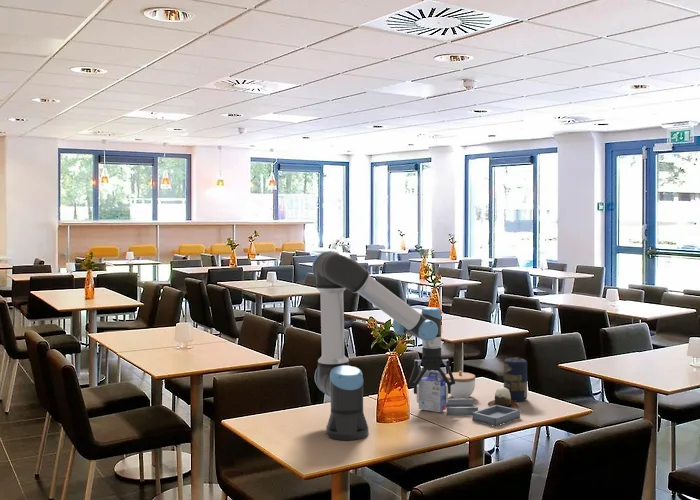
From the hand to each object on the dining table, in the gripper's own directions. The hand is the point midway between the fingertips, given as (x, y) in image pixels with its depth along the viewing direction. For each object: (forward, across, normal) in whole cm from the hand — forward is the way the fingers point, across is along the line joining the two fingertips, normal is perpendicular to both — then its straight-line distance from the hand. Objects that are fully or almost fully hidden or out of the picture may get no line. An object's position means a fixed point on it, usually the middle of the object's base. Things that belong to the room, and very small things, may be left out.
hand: (432, 401), depth 276 cm
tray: (+4, +23, -12) cm, 26 cm away
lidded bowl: (+4, +14, +21) cm, 26 cm away
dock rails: (+4, +11, 0) cm, 12 cm away
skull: (+4, +29, +7) cm, 30 cm away
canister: (+4, +36, +15) cm, 39 cm away
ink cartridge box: (+3, 0, 0) cm, 3 cm away
